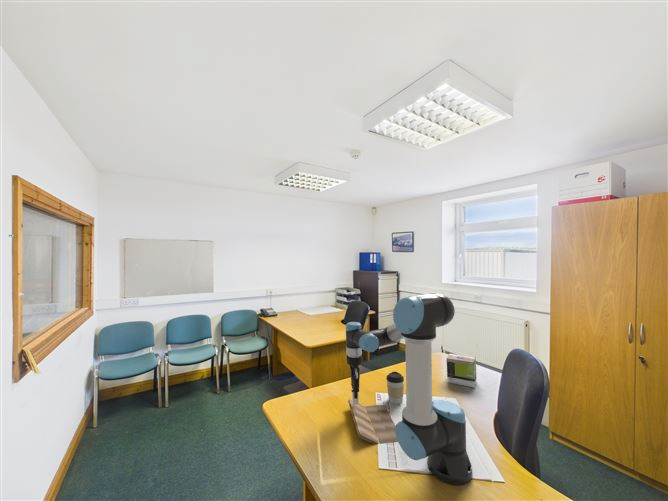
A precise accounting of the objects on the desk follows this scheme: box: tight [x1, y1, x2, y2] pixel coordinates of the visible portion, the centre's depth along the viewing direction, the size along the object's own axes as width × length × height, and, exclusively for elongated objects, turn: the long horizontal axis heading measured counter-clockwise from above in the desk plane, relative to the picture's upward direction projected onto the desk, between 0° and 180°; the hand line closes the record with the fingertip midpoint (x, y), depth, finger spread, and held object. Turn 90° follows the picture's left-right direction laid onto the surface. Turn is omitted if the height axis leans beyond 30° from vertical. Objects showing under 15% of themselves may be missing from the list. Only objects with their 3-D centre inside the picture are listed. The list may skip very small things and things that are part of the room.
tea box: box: [446, 353, 478, 389], centre depth 170 cm, size 15×10×15 cm, turn 58°
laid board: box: [364, 404, 399, 445], centre depth 131 cm, size 28×10×1 cm, turn 6°
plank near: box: [352, 415, 380, 445], centre depth 123 cm, size 14×9×1 cm, turn 6°
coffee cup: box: [386, 371, 405, 405], centre depth 149 cm, size 9×9×15 cm
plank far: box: [347, 398, 372, 424], centre depth 137 cm, size 14×9×1 cm, turn 6°
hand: (355, 403), depth 137 cm, fingers closed
